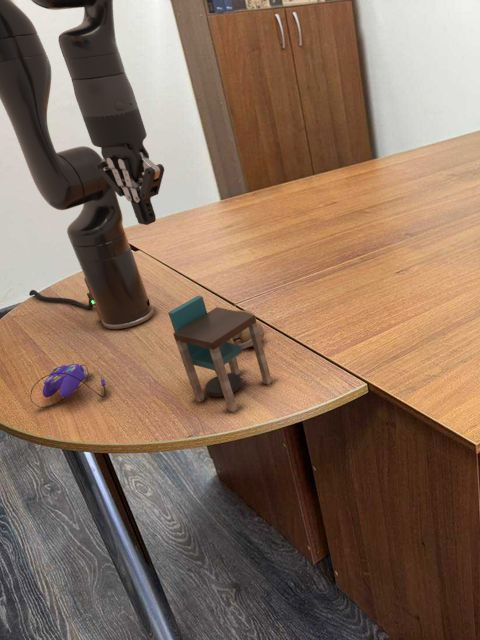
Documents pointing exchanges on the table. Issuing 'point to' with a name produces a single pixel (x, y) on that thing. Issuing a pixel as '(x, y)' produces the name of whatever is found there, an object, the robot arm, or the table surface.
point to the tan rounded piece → (246, 335)
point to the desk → (211, 335)
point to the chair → (200, 354)
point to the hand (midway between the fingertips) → (147, 222)
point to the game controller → (65, 381)
